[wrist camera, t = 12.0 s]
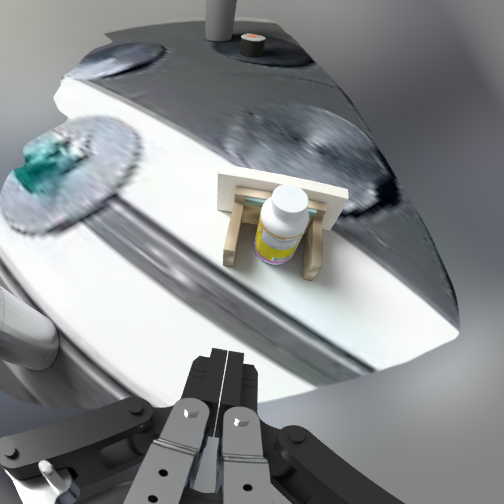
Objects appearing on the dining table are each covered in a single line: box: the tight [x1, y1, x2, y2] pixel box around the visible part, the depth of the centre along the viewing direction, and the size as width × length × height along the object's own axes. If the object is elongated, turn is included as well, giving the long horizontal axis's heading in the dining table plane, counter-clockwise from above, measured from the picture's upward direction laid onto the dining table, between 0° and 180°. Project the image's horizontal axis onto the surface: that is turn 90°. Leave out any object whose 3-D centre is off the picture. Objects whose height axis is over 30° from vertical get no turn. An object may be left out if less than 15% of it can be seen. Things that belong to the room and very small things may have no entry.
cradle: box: [223, 186, 326, 280], centre depth 43 cm, size 14×10×7 cm
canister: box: [206, 0, 237, 42], centre depth 77 cm, size 13×13×35 cm
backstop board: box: [217, 164, 348, 231], centre depth 46 cm, size 20×2×9 cm, turn 82°
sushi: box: [240, 33, 265, 57], centre depth 82 cm, size 8×8×8 cm
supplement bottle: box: [254, 184, 309, 265], centre depth 41 cm, size 7×7×13 cm
